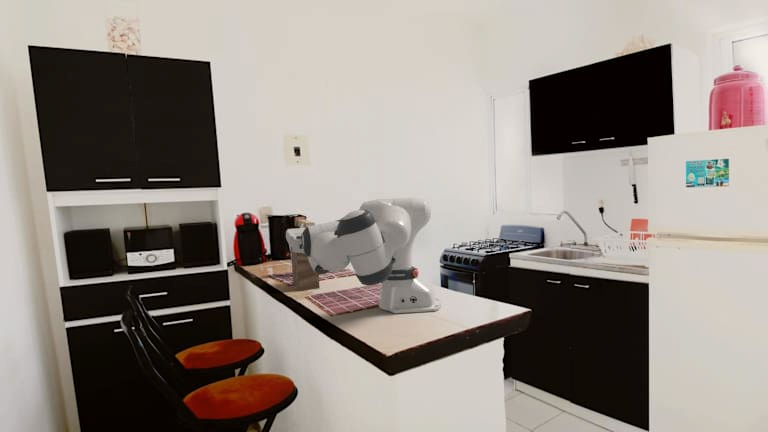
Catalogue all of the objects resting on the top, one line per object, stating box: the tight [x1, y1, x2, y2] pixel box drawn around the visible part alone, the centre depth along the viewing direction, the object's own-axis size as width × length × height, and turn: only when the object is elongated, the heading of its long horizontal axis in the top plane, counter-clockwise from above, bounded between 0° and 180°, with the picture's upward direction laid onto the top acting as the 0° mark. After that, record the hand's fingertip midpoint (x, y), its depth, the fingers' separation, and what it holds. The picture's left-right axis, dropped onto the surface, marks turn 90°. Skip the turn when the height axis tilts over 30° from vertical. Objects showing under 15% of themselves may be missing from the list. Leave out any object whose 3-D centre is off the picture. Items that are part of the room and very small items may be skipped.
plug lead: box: [294, 216, 314, 228], centre depth 183 cm, size 25×4×4 cm, turn 22°
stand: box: [290, 227, 320, 292], centre depth 188 cm, size 16×9×26 cm, turn 22°
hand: (308, 224), depth 174 cm, fingers closed on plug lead, 3 cm apart
